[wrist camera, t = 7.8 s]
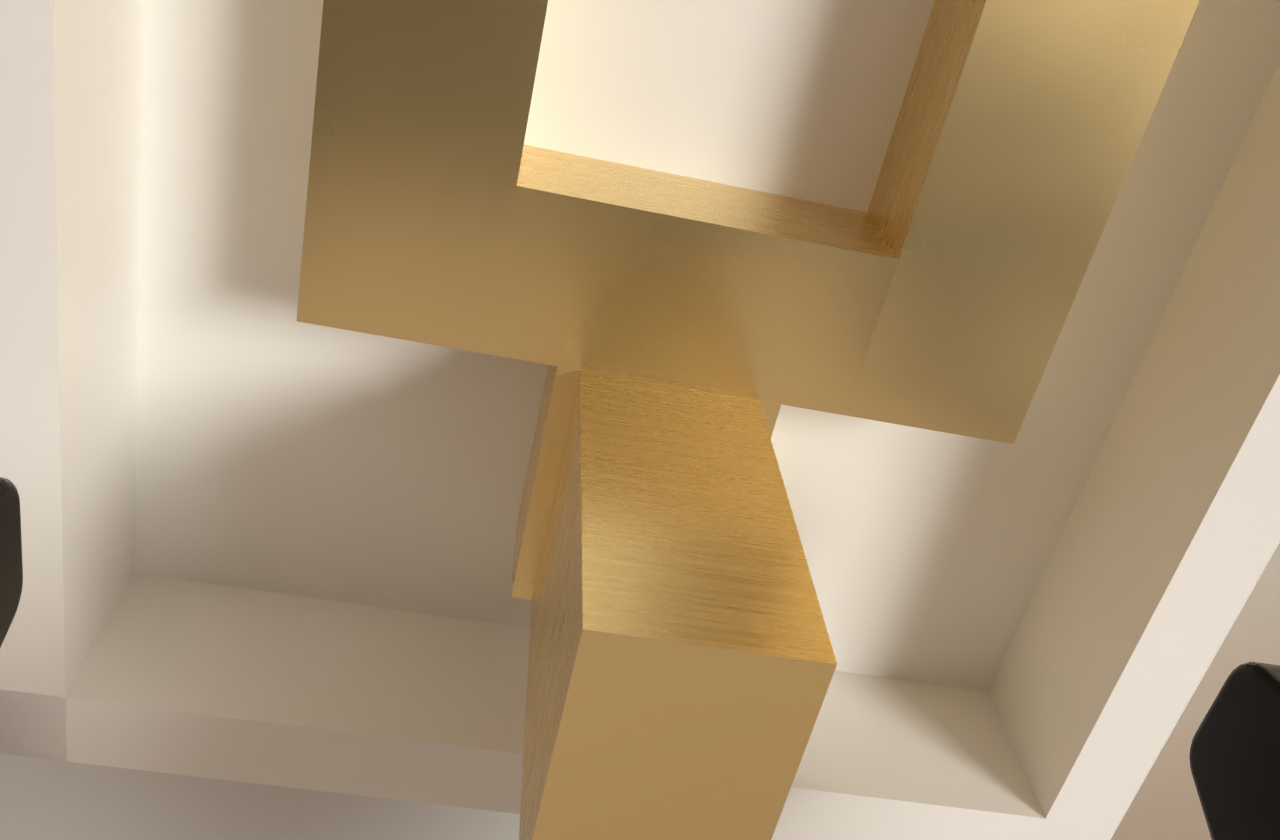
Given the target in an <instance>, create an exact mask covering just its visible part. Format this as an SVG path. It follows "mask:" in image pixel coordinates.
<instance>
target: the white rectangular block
mask: <svg viewBox="0 0 1280 840" xmlns="http://www.w3.org/2000/svg"><path fill="white" fill-rule="evenodd" d="M519 826H520V814H514V813H505V812H497V811H488V810H479V809H471V808H462V807H454V806H445V805H436V804H428V803H419V802H411V801H402V800H394V799H385V798H376V797H368V796H359V795H351V794H342V793H333V792H325V791H316V790H308V789H299V788H290V787H282V786H273V785H265V784H256V783H247V782H239V781H230V780H222V779H213V778H204V777H196V776H187V775H179V774H170V773H161V772H153V771H144V770H136V769H127V768H119V767H110V766H101V765H93V764H84V763H76V762H67V761H58V760H50V759H41V758H33V757H24V756H15V755H7V754H0V840H519Z"/></svg>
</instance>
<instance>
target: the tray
mask: <svg viewBox="0 0 1280 840" xmlns="http://www.w3.org/2000/svg"><path fill="white" fill-rule="evenodd" d="M934 1H935V0H548V5H547V11H546V16H545V22H544V28H543V34H542V40H541V46H540V52H539V58H538V63H537V69H536V75H535V81H534V87H533V93H532V99H531V105H530V110H529V116H528V122H527V128H526V134H525V140H524V145H529V146H534V147H539V148H544V149H549V150H554V151H559V152H565V153H570V154H575V155H580V156H585V157H590V158H595V159H600V160H605V161H610V162H615V163H620V164H625V165H630V166H635V167H640V168H645V169H650V170H655V171H660V172H666V173H671V174H676V175H681V176H686V177H691V178H696V179H701V180H706V181H711V182H716V183H721V184H726V185H731V186H736V187H741V188H746V189H751V190H756V191H761V192H767V193H772V194H777V195H782V196H787V197H792V198H797V199H802V200H807V201H812V202H817V203H822V204H827V205H832V206H837V207H842V208H847V209H852V210H857V211H862V212H868V209H869V206H870V202H871V199H872V196H873V193H874V190H875V187H876V184H877V180H878V177H879V174H880V171H881V168H882V165H883V162H884V158H885V155H886V152H887V149H888V146H889V143H890V140H891V136H892V133H893V130H894V127H895V124H896V121H897V118H898V114H899V111H900V108H901V105H902V102H903V99H904V96H905V92H906V89H907V86H908V83H909V80H910V77H911V74H912V70H913V67H914V64H915V61H916V58H917V55H918V52H919V48H920V45H921V42H922V39H923V36H924V33H925V30H926V26H927V23H928V20H929V17H930V14H931V11H932V8H933V4H934ZM322 11H323V0H0V477H3V478H7V479H9V480H10V481H11V482H12V483H13V484H14V485H15V486H16V488H17V491H18V494H19V498H20V514H21V539H22V565H23V585H22V593H21V597H20V602H19V605H18V608H17V611H16V614H15V616H14V619H13V621H12V623H11V625H10V628H9V630H8V632H7V634H6V637H5V639H4V641H3V643H2V646H1V648H0V754H7V755H15V756H24V757H33V758H41V759H50V760H58V761H67V762H76V763H84V764H93V765H101V766H110V767H119V768H127V769H136V770H144V771H153V772H161V773H170V774H179V775H187V776H196V777H204V778H213V779H222V780H230V781H239V782H247V783H256V784H265V785H273V786H282V787H290V788H299V789H308V790H316V791H325V792H333V793H342V794H351V795H359V796H368V797H376V798H385V799H394V800H402V801H411V802H419V803H428V804H436V805H445V806H454V807H462V808H471V809H479V810H488V811H497V812H505V813H514V814H520V808H521V789H522V770H523V751H524V733H525V714H526V695H527V676H528V658H529V639H530V620H531V601H532V600H528V599H521V598H514V597H511V589H512V576H513V564H514V551H515V538H516V526H517V521H518V516H519V511H520V506H521V501H522V496H523V491H524V486H525V481H526V476H527V471H528V466H529V461H530V456H531V451H532V445H533V440H534V435H535V430H536V425H537V420H538V415H539V410H540V405H541V400H542V395H543V390H544V385H545V380H546V375H547V370H548V364H542V363H537V362H531V361H525V360H519V359H513V358H507V357H502V356H496V355H490V354H484V353H478V352H472V351H467V350H461V349H455V348H449V347H443V346H437V345H432V344H426V343H420V342H414V341H408V340H402V339H397V338H391V337H385V336H379V335H373V334H367V333H362V332H356V331H350V330H344V329H338V328H332V327H327V326H321V325H315V324H309V323H303V322H298V321H296V320H297V308H298V296H299V284H300V272H301V260H302V249H303V237H304V225H305V213H306V201H307V189H308V177H309V165H310V154H311V142H312V130H313V118H314V106H315V94H316V82H317V71H318V59H319V47H320V35H321V23H322ZM771 442H772V445H773V448H774V452H775V455H776V459H777V462H778V465H779V469H780V472H781V476H782V479H783V482H784V486H785V489H786V493H787V496H788V499H789V503H790V506H791V509H792V513H793V516H794V520H795V523H796V526H797V530H798V533H799V537H800V540H801V543H802V547H803V550H804V554H805V557H806V560H807V564H808V567H809V571H810V574H811V577H812V581H813V584H814V588H815V591H816V594H817V598H818V601H819V605H820V608H821V611H822V615H823V618H824V622H825V625H826V628H827V632H828V635H829V639H830V642H831V645H832V649H833V652H834V656H835V659H836V662H837V666H836V669H835V672H834V674H833V677H832V680H831V682H830V685H829V688H828V690H827V693H826V696H825V698H824V701H823V704H822V706H821V709H820V712H819V714H818V717H817V719H816V722H815V725H814V727H813V730H812V733H811V735H810V738H809V741H808V743H807V746H806V749H805V751H804V754H803V757H802V759H801V762H800V765H799V767H798V770H797V773H796V775H795V778H794V781H793V783H792V786H791V788H790V791H789V794H788V796H787V799H786V802H785V804H784V807H783V810H782V812H781V815H780V818H779V820H778V823H777V826H776V828H775V831H774V834H773V836H772V839H771V840H1110V839H1111V838H1112V836H1113V834H1114V832H1115V831H1116V829H1117V827H1118V825H1119V824H1120V822H1121V820H1122V818H1123V817H1124V815H1125V813H1126V811H1127V809H1128V808H1129V806H1130V804H1131V802H1132V801H1133V799H1134V797H1135V795H1136V794H1137V792H1138V790H1139V788H1140V787H1141V785H1142V783H1143V781H1144V780H1145V778H1146V776H1147V774H1148V773H1149V771H1150V769H1151V767H1152V766H1153V764H1154V762H1155V760H1156V759H1157V757H1158V755H1159V753H1160V752H1161V750H1162V748H1163V746H1164V745H1165V743H1166V741H1167V739H1168V737H1169V736H1170V734H1171V732H1172V730H1173V729H1174V727H1175V725H1176V723H1177V722H1178V720H1179V718H1180V716H1181V715H1182V713H1183V711H1184V709H1185V708H1186V706H1187V704H1188V702H1189V701H1190V699H1191V697H1192V695H1193V694H1194V692H1195V690H1196V688H1197V687H1198V685H1199V683H1200V681H1201V680H1202V678H1203V676H1204V674H1205V673H1206V671H1207V669H1208V667H1209V665H1210V664H1211V662H1212V660H1213V658H1214V657H1215V655H1216V653H1217V651H1218V650H1219V648H1220V646H1221V644H1222V643H1223V641H1224V639H1225V637H1226V636H1227V634H1228V632H1229V630H1230V629H1231V627H1232V625H1233V623H1234V622H1235V620H1236V618H1237V616H1238V615H1239V613H1240V611H1241V609H1242V608H1243V606H1244V604H1245V602H1246V601H1247V599H1248V597H1249V595H1250V593H1251V592H1252V590H1253V588H1254V586H1255V585H1256V583H1257V581H1258V579H1259V578H1260V576H1261V574H1262V572H1263V571H1264V569H1265V567H1266V565H1267V564H1268V562H1269V560H1270V558H1271V557H1272V555H1273V553H1274V551H1275V550H1276V548H1277V546H1278V544H1279V543H1280V0H1200V1H1199V4H1198V6H1197V8H1196V11H1195V13H1194V16H1193V18H1192V20H1191V23H1190V25H1189V27H1188V30H1187V32H1186V35H1185V37H1184V39H1183V42H1182V44H1181V47H1180V49H1179V51H1178V54H1177V56H1176V58H1175V61H1174V63H1173V66H1172V68H1171V70H1170V73H1169V75H1168V78H1167V80H1166V82H1165V85H1164V87H1163V89H1162V92H1161V94H1160V97H1159V99H1158V101H1157V104H1156V106H1155V108H1154V111H1153V113H1152V116H1151V118H1150V120H1149V123H1148V125H1147V128H1146V130H1145V132H1144V135H1143V137H1142V139H1141V142H1140V144H1139V147H1138V149H1137V151H1136V154H1135V156H1134V158H1133V161H1132V163H1131V166H1130V168H1129V170H1128V173H1127V175H1126V178H1125V180H1124V182H1123V185H1122V187H1121V189H1120V192H1119V194H1118V197H1117V199H1116V201H1115V204H1114V206H1113V209H1112V211H1111V213H1110V216H1109V218H1108V220H1107V223H1106V225H1105V228H1104V230H1103V232H1102V235H1101V237H1100V239H1099V242H1098V244H1097V247H1096V249H1095V251H1094V254H1093V256H1092V259H1091V261H1090V263H1089V266H1088V268H1087V270H1086V273H1085V275H1084V278H1083V280H1082V282H1081V285H1080V287H1079V289H1078V292H1077V294H1076V297H1075V299H1074V301H1073V304H1072V306H1071V309H1070V311H1069V313H1068V316H1067V318H1066V320H1065V323H1064V325H1063V328H1062V330H1061V332H1060V335H1059V337H1058V340H1057V342H1056V344H1055V347H1054V349H1053V351H1052V354H1051V356H1050V359H1049V361H1048V363H1047V366H1046V368H1045V370H1044V373H1043V375H1042V378H1041V380H1040V382H1039V385H1038V387H1037V390H1036V392H1035V394H1034V397H1033V399H1032V401H1031V404H1030V406H1029V409H1028V411H1027V413H1026V416H1025V418H1024V420H1023V423H1022V425H1021V428H1020V430H1019V432H1018V435H1017V437H1016V440H1015V442H1014V444H1009V443H1003V442H997V441H991V440H986V439H980V438H974V437H968V436H962V435H957V434H951V433H945V432H939V431H933V430H927V429H922V428H916V427H910V426H904V425H898V424H892V423H887V422H881V421H875V420H869V419H863V418H857V417H852V416H846V415H840V414H834V413H828V412H822V411H817V410H811V409H805V408H799V407H793V406H787V405H782V404H781V407H780V410H779V414H778V417H777V420H776V423H775V427H774V430H773V433H772V436H771Z"/></svg>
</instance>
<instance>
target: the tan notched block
mask: <svg viewBox="0 0 1280 840" xmlns="http://www.w3.org/2000/svg"><path fill="white" fill-rule="evenodd" d="M1199 1H1200V0H935V1H934V4H933V8H932V11H931V14H930V17H929V20H928V23H927V26H926V30H925V33H924V36H923V39H922V42H921V45H920V48H919V52H918V55H917V58H916V61H915V64H914V67H913V70H912V74H911V77H910V80H909V83H908V86H907V89H906V92H905V96H904V99H903V102H902V105H901V108H900V111H899V114H898V118H897V121H896V124H895V127H894V130H893V133H892V136H891V140H890V143H889V146H888V149H887V152H886V155H885V158H884V162H883V165H882V168H881V171H880V174H879V177H878V180H877V184H876V187H875V190H874V193H873V196H872V199H871V202H870V206H869V209H868V212H862V211H857V210H852V209H847V208H842V207H837V206H832V205H827V204H822V203H817V202H812V201H807V200H802V199H797V198H792V197H787V196H782V195H777V194H772V193H767V192H761V191H756V190H751V189H746V188H741V187H736V186H731V185H726V184H721V183H716V182H711V181H706V180H701V179H696V178H691V177H686V176H681V175H676V174H671V173H666V172H660V171H655V170H650V169H645V168H640V167H635V166H630V165H625V164H620V163H615V162H610V161H605V160H600V159H595V158H590V157H585V156H580V155H575V154H570V153H565V152H559V151H554V150H549V149H544V148H539V147H534V146H529V145H524V140H525V134H526V128H527V122H528V116H529V110H530V105H531V99H532V93H533V87H534V81H535V75H536V69H537V63H538V58H539V52H540V46H541V40H542V34H543V28H544V22H545V16H546V11H547V5H548V0H323V11H322V23H321V35H320V47H319V59H318V71H317V82H316V94H315V106H314V118H313V130H312V142H311V154H310V165H309V177H308V189H307V201H306V213H305V225H304V237H303V249H302V260H301V272H300V284H299V296H298V308H297V320H296V321H298V322H303V323H309V324H315V325H321V326H327V327H332V328H338V329H344V330H350V331H356V332H362V333H367V334H373V335H379V336H385V337H391V338H397V339H402V340H408V341H414V342H420V343H426V344H432V345H437V346H443V347H449V348H455V349H461V350H467V351H472V352H478V353H484V354H490V355H496V356H502V357H507V358H513V359H519V360H525V361H531V362H537V363H542V364H548V370H547V375H546V380H545V385H544V390H543V395H542V400H541V405H540V410H539V415H538V420H537V425H536V430H535V435H534V440H533V445H532V451H531V456H530V461H529V466H528V471H527V476H526V481H525V486H524V491H523V496H522V501H521V506H520V511H519V516H518V521H517V526H516V538H515V551H514V564H513V576H512V589H511V597H514V598H521V599H528V600H532V601H531V620H530V639H529V658H528V676H527V695H526V714H525V733H524V751H523V770H522V789H521V808H520V826H519V840H771V839H772V836H773V834H774V831H775V828H776V826H777V823H778V820H779V818H780V815H781V812H782V810H783V807H784V804H785V802H786V799H787V796H788V794H789V791H790V788H791V786H792V783H793V781H794V778H795V775H796V773H797V770H798V767H799V765H800V762H801V759H802V757H803V754H804V751H805V749H806V746H807V743H808V741H809V738H810V735H811V733H812V730H813V727H814V725H815V722H816V719H817V717H818V714H819V712H820V709H821V706H822V704H823V701H824V698H825V696H826V693H827V690H828V688H829V685H830V682H831V680H832V677H833V674H834V672H835V669H836V666H837V662H836V659H835V656H834V652H833V649H832V645H831V642H830V639H829V635H828V632H827V628H826V625H825V622H824V618H823V615H822V611H821V608H820V605H819V601H818V598H817V594H816V591H815V588H814V584H813V581H812V577H811V574H810V571H809V567H808V564H807V560H806V557H805V554H804V550H803V547H802V543H801V540H800V537H799V533H798V530H797V526H796V523H795V520H794V516H793V513H792V509H791V506H790V503H789V499H788V496H787V493H786V489H785V486H784V482H783V479H782V476H781V472H780V469H779V465H778V462H777V459H776V455H775V452H774V448H773V445H772V442H771V436H772V433H773V430H774V427H775V423H776V420H777V417H778V414H779V410H780V407H781V404H782V405H787V406H793V407H799V408H805V409H811V410H817V411H822V412H828V413H834V414H840V415H846V416H852V417H857V418H863V419H869V420H875V421H881V422H887V423H892V424H898V425H904V426H910V427H916V428H922V429H927V430H933V431H939V432H945V433H951V434H957V435H962V436H968V437H974V438H980V439H986V440H991V441H997V442H1003V443H1009V444H1014V442H1015V440H1016V437H1017V435H1018V432H1019V430H1020V428H1021V425H1022V423H1023V420H1024V418H1025V416H1026V413H1027V411H1028V409H1029V406H1030V404H1031V401H1032V399H1033V397H1034V394H1035V392H1036V390H1037V387H1038V385H1039V382H1040V380H1041V378H1042V375H1043V373H1044V370H1045V368H1046V366H1047V363H1048V361H1049V359H1050V356H1051V354H1052V351H1053V349H1054V347H1055V344H1056V342H1057V340H1058V337H1059V335H1060V332H1061V330H1062V328H1063V325H1064V323H1065V320H1066V318H1067V316H1068V313H1069V311H1070V309H1071V306H1072V304H1073V301H1074V299H1075V297H1076V294H1077V292H1078V289H1079V287H1080V285H1081V282H1082V280H1083V278H1084V275H1085V273H1086V270H1087V268H1088V266H1089V263H1090V261H1091V259H1092V256H1093V254H1094V251H1095V249H1096V247H1097V244H1098V242H1099V239H1100V237H1101V235H1102V232H1103V230H1104V228H1105V225H1106V223H1107V220H1108V218H1109V216H1110V213H1111V211H1112V209H1113V206H1114V204H1115V201H1116V199H1117V197H1118V194H1119V192H1120V189H1121V187H1122V185H1123V182H1124V180H1125V178H1126V175H1127V173H1128V170H1129V168H1130V166H1131V163H1132V161H1133V158H1134V156H1135V154H1136V151H1137V149H1138V147H1139V144H1140V142H1141V139H1142V137H1143V135H1144V132H1145V130H1146V128H1147V125H1148V123H1149V120H1150V118H1151V116H1152V113H1153V111H1154V108H1155V106H1156V104H1157V101H1158V99H1159V97H1160V94H1161V92H1162V89H1163V87H1164V85H1165V82H1166V80H1167V78H1168V75H1169V73H1170V70H1171V68H1172V66H1173V63H1174V61H1175V58H1176V56H1177V54H1178V51H1179V49H1180V47H1181V44H1182V42H1183V39H1184V37H1185V35H1186V32H1187V30H1188V27H1189V25H1190V23H1191V20H1192V18H1193V16H1194V13H1195V11H1196V8H1197V6H1198V4H1199Z"/></svg>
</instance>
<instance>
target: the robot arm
mask: <svg viewBox="0 0 1280 840" xmlns="http://www.w3.org/2000/svg"><path fill="white" fill-rule="evenodd" d="M22 585H23V565H22V539H21V514H20V498H19V494H18V491H17V488H16V486H15V485H14V484H13V483H12V482H11V481H10V480H9V479H7V478H3V477H0V648H1V646H2V643H3V641H4V639H5V637H6V634H7V632H8V630H9V628H10V625H11V623H12V621H13V619H14V616H15V614H16V611H17V608H18V605H19V602H20V597H21V593H22ZM1190 767H1191V772H1192V776H1193V779H1194V782H1195V786H1196V789H1197V792H1198V795H1199V799H1200V802H1201V805H1202V809H1203V812H1204V815H1205V819H1206V822H1207V825H1208V828H1209V832H1210V835H1211V838H1212V840H1280V666H1279V665H1271V664H1264V663H1258V662H1248V663H1244V664H1241V665H1240V666H1238V667H1237V668H1236V669H1234V670H1233V671H1232V672H1231V674H1230V675H1229V676H1228V678H1227V680H1226V682H1225V683H1224V685H1223V687H1222V688H1221V690H1220V692H1219V694H1218V695H1217V697H1216V699H1215V701H1214V702H1213V704H1212V706H1211V707H1210V709H1209V711H1208V713H1207V714H1206V716H1205V718H1204V719H1203V721H1202V723H1201V725H1200V726H1199V728H1198V730H1197V731H1196V733H1195V735H1194V738H1193V740H1192V744H1191V748H1190Z"/></svg>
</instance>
